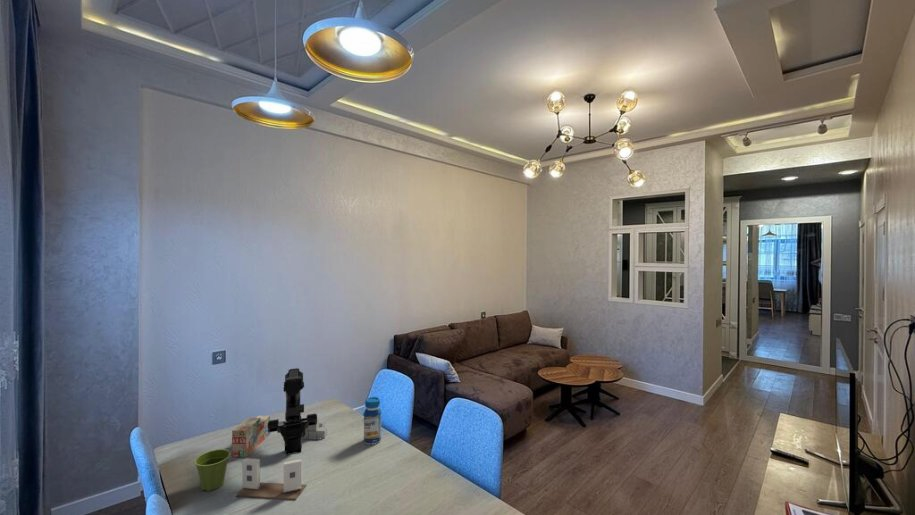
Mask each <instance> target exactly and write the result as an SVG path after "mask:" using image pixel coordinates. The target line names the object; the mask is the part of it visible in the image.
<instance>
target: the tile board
mask: <svg viewBox="0 0 915 515" xmlns="http://www.w3.org/2000/svg"><path fill="white" fill-rule="evenodd" d="M306 487H307V484H301V489H298V490H294V491H290V492H285V493H284V483H278V482H260V487H259V489H248V488H241V490H240V491H238V492H237V493H236V495H235V498H250V499H251V498H252V499H269V500H271V499H272V500H287V501H288V500H289V501H296V500H297V499H298V498H299V496H300V495H301V494H302V492H303V491H304V490H305V489H306Z"/></svg>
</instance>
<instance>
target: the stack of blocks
mask: <svg viewBox="0 0 915 515" xmlns="http://www.w3.org/2000/svg"><path fill="white" fill-rule="evenodd" d="M270 420H271V416H270V415H257V416H256V417H246V418H245V419H244V420H243V421H242V422H240V423H239V424H238V425H237V426H235V427H234V428H233V429H232V431H231V444H232V445H231V446H232V448H231V450H232V453H231V454H232V458H247V457H248V456H249V455H250V454H251V453H252V452H253V451H254V450H256V448H257V447H258V446H259V445H260V444H261V443H262V442H264V440H266V439H267V438H268V437H269V436H270V434H271V432H268V422H269V421H270Z"/></svg>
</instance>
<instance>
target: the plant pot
mask: <svg viewBox="0 0 915 515" xmlns="http://www.w3.org/2000/svg"><path fill="white" fill-rule="evenodd" d="M231 454H232V453H231V450H229V449H226V448H225V449H224V448H219V449H213V450H212V449H211V450H209V451H206V452H203V453H202V454H199V455H198V456H197V457H196V458H195V459H194V462H193V463H194V465H195V466H196V469H197V473H198V478H199V482H200V487H201V490H202V491H206V492H210V491H213V490H214V491H215V490H216V489H219V488H220V487H221V486H222V485H223V484H224V483H225V477H226V470H227V464H228V462H229V459H230V456H231Z"/></svg>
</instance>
